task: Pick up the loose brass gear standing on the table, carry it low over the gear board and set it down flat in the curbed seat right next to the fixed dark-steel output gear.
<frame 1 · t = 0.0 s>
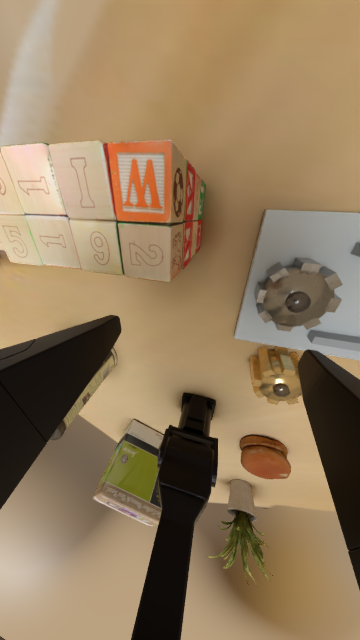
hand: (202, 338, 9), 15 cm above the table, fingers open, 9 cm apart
output gear: (289, 291, 19), resting on gear board
brass gear: (273, 362, 26), on the table
tea box: (152, 436, 49), on the table
house plant: (236, 482, 50), on the table
gear board: (331, 293, 19), on the table
coffee can: (95, 350, 35), on the table
stack of blocks: (116, 213, 21), on the table
burger: (262, 445, 38), on the table
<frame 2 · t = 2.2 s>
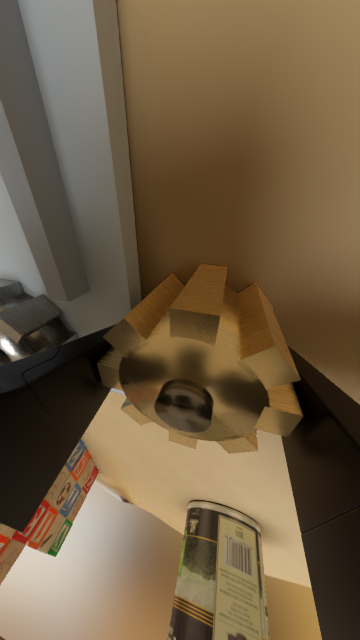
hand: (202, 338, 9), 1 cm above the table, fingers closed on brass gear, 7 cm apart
output gear: (35, 331, 12), resting on gear board
brass gear: (205, 326, 10), on the table, touching gripper
gear board: (24, 258, 10), on the table
coffee can: (222, 514, 25), on the table
stack of blocks: (67, 434, 26), on the table
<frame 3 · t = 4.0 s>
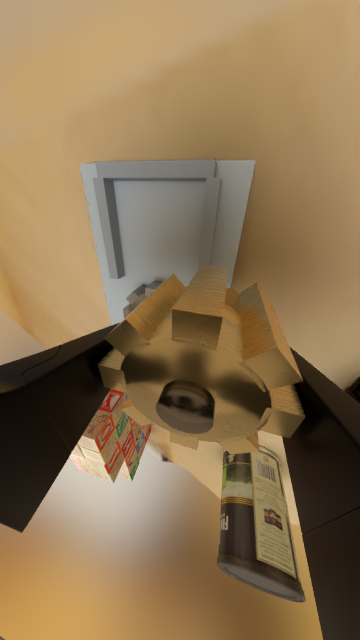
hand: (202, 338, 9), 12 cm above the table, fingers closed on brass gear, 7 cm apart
output gear: (160, 310, 21), resting on gear board
brass gear: (206, 326, 9), point 11 cm above the table, touching gripper
gear board: (163, 270, 20), on the table
coffee can: (250, 456, 34), on the table
stack of blocks: (134, 397, 35), on the table
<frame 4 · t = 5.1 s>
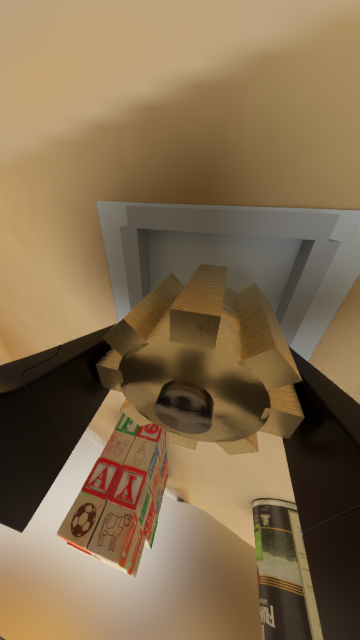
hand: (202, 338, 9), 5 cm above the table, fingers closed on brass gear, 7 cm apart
brass gear: (205, 326, 9), point 4 cm above the table, touching gripper
gear board: (205, 332, 15), on the table
coffee can: (283, 510, 30), on the table
stack of blocks: (150, 446, 30), on the table
when the fingers open (4 cm above the table, at t = 5.9 s): brass gear drops 1 cm, resting on gear board.
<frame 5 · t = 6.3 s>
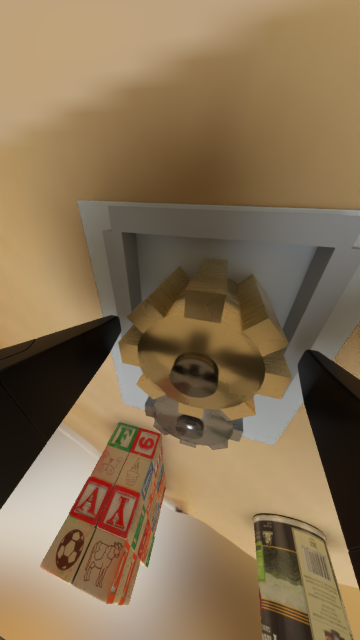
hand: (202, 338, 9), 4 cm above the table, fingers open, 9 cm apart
output gear: (196, 394, 15), resting on gear board
brass gear: (208, 314, 11), point 1 cm above the table, touching gear board
gear board: (203, 345, 13), on the table
coffee can: (286, 525, 29), on the table
stack of blocks: (147, 458, 29), on the table
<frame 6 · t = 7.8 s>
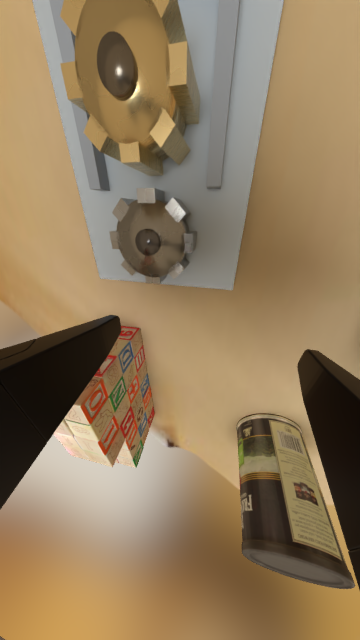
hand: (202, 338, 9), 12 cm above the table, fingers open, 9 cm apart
output gear: (158, 238, 16), resting on gear board
brass gear: (153, 115, 12), point 1 cm above the table, touching gear board
gear board: (160, 179, 15), on the table
coffee can: (267, 430, 30), on the table
stack of blocks: (133, 374, 31), on the table
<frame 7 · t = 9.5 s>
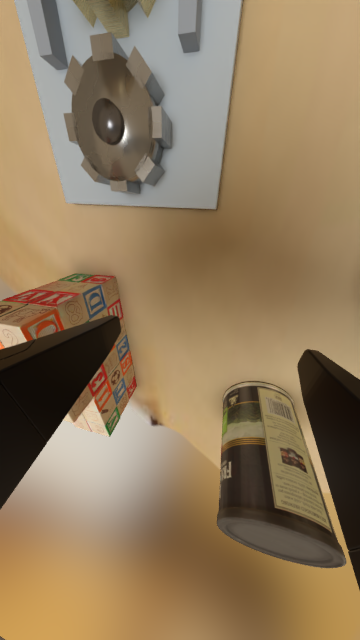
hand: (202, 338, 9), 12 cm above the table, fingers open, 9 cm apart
output gear: (128, 137, 14), resting on gear board
gear board: (129, 55, 12), on the table
coffee can: (256, 402, 28), on the table
stack of blocks: (112, 338, 28), on the table
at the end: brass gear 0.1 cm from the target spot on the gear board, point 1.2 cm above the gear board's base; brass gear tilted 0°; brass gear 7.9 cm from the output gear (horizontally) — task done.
